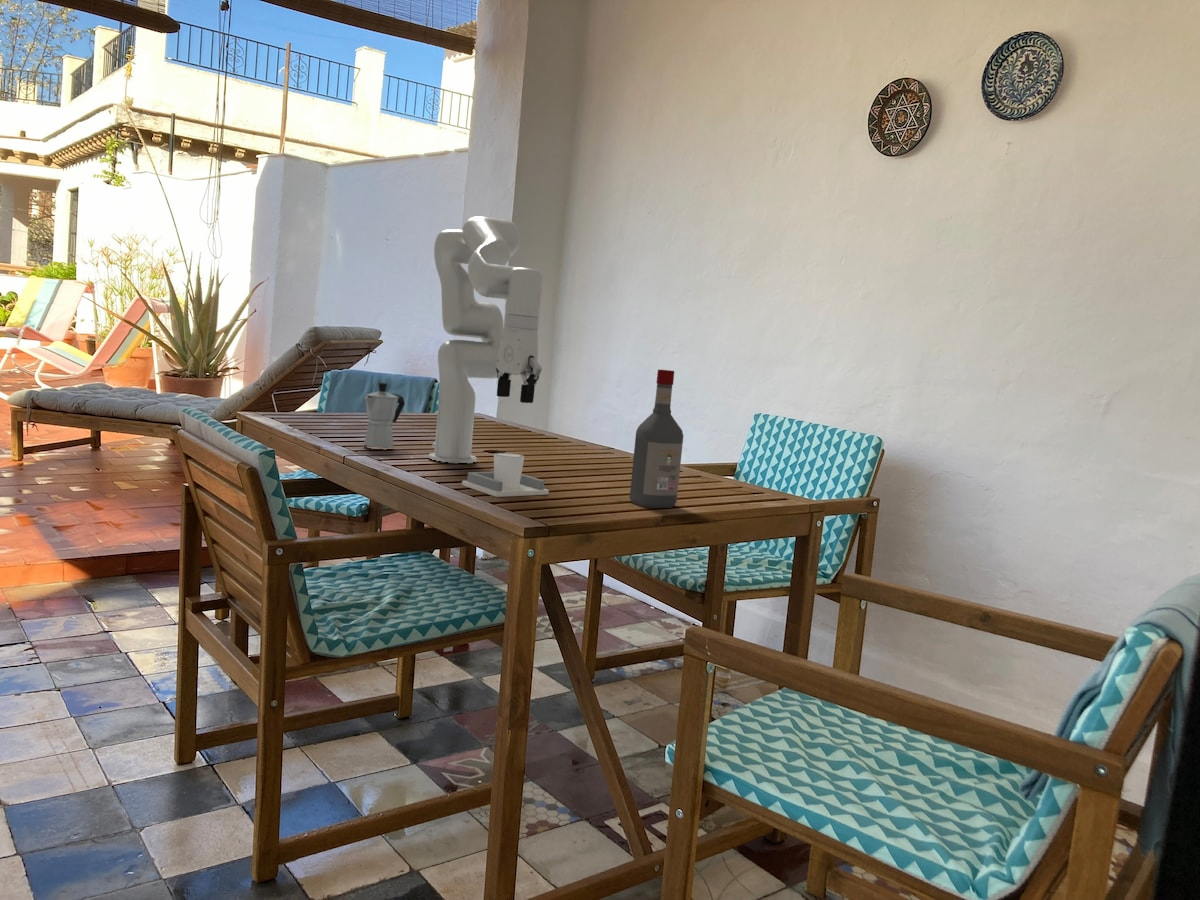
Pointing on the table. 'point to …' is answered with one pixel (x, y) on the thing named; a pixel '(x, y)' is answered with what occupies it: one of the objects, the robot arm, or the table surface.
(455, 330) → the robot arm
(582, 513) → the table surface
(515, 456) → the white cup
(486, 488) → the u rest
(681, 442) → the liquor
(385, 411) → the coffee maker
